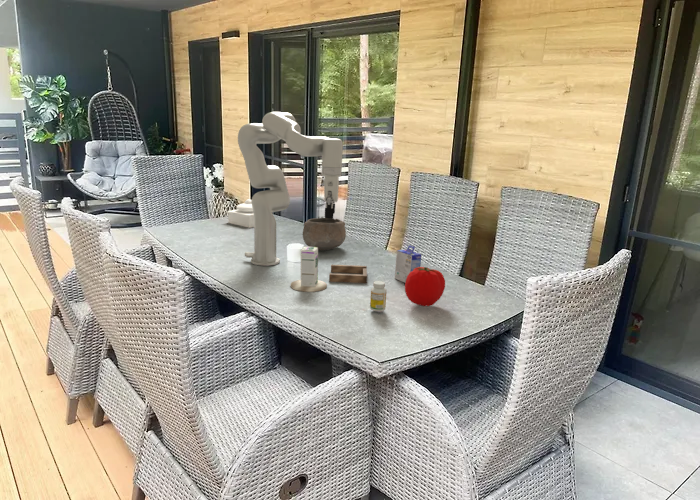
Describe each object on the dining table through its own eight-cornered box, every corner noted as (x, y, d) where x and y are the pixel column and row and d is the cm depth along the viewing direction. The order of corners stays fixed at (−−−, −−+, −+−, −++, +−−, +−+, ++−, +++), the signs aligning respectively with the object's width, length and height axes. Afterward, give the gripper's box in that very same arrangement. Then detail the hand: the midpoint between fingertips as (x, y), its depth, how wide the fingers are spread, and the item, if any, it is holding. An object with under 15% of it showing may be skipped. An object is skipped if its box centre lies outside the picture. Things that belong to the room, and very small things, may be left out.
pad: (288, 291, 199) (288, 289, 199) (292, 279, 212) (292, 278, 212) (325, 292, 199) (325, 291, 199) (327, 281, 212) (327, 279, 212)
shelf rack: (329, 281, 212) (329, 274, 211) (331, 271, 226) (331, 264, 225) (366, 283, 212) (367, 275, 211) (366, 272, 226) (366, 265, 225)
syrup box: (315, 287, 202) (316, 250, 199) (300, 286, 203) (300, 249, 199) (317, 282, 208) (318, 246, 204) (303, 281, 208) (303, 245, 205)
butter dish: (271, 226, 312) (271, 199, 308) (248, 230, 298) (248, 202, 294) (250, 221, 322) (250, 195, 318) (227, 226, 308) (227, 198, 304)
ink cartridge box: (420, 283, 214) (422, 248, 211) (409, 285, 211) (412, 250, 208) (404, 276, 222) (406, 243, 219) (394, 278, 219) (396, 244, 216)
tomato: (415, 312, 182) (417, 273, 179) (395, 299, 195) (398, 263, 191) (453, 307, 189) (456, 270, 185) (432, 295, 201) (435, 260, 197)
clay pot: (295, 251, 256) (295, 220, 252) (313, 242, 275) (314, 214, 271) (335, 257, 249) (336, 225, 245) (351, 247, 267) (352, 218, 264)
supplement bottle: (379, 313, 180) (380, 286, 178) (366, 309, 184) (368, 282, 181) (388, 309, 184) (390, 282, 182) (376, 305, 188) (377, 279, 185)
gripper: (340, 174, 193) (338, 220, 198) (342, 169, 210) (340, 212, 215) (319, 173, 194) (318, 219, 198) (323, 168, 210) (322, 211, 215)
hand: (329, 215), depth 206 cm, fingers open, 9 cm apart
